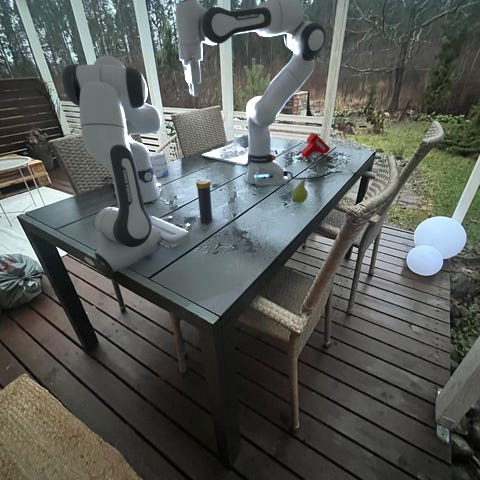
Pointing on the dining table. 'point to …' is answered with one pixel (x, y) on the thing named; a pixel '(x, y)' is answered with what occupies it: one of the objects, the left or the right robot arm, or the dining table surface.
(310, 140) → the toy gun
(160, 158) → the ink box
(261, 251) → the dining table surface
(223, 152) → the relief map
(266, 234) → the dining table surface
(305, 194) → the fruit
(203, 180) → the lid
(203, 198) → the jar
